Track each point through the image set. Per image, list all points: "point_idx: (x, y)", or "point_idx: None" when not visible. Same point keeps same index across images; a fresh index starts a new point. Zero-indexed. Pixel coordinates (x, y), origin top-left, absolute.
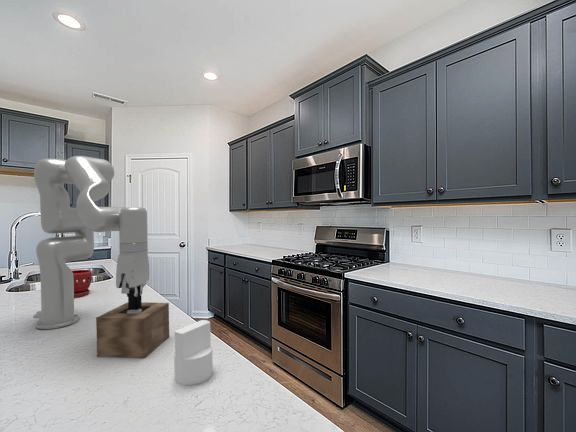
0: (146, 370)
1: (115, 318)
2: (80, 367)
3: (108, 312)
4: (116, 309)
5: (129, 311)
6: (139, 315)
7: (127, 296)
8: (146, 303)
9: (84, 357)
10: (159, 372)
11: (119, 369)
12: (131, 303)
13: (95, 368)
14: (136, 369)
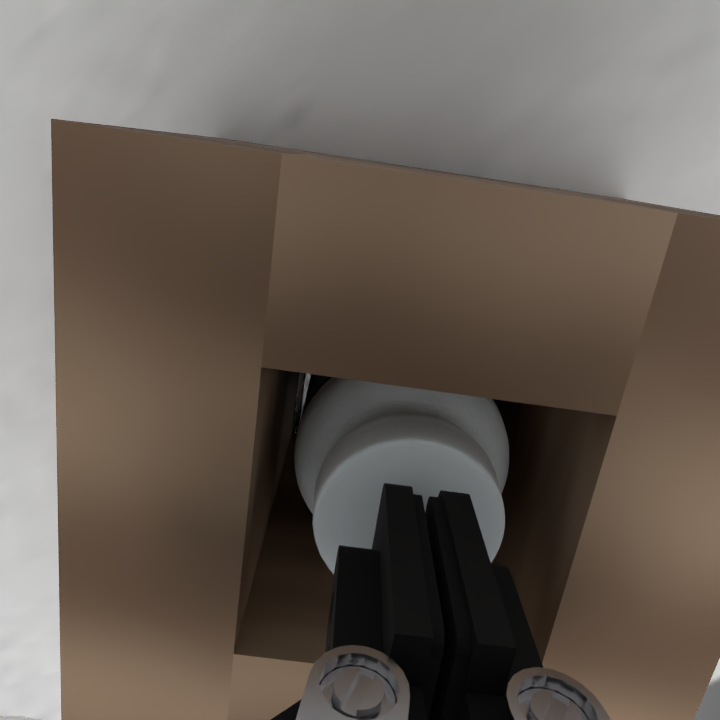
0: (43, 568)
1: (58, 437)
2: (40, 106)
3: (312, 191)
4: (463, 251)
5: (385, 473)
6: (163, 683)
7: (321, 662)
8: (702, 582)
9: (201, 25)
10: (29, 639)
11: (39, 411)
12: (332, 613)
13: (37, 238)
14: (49, 511)
